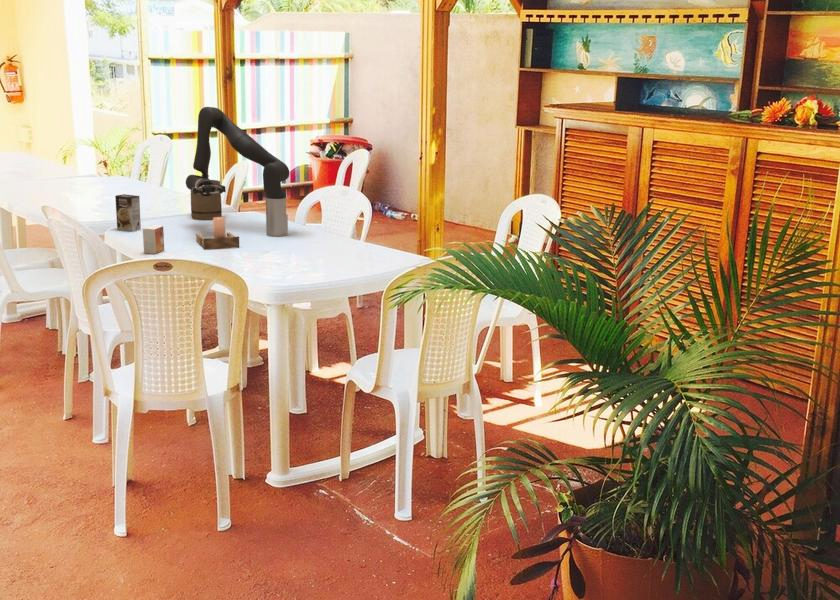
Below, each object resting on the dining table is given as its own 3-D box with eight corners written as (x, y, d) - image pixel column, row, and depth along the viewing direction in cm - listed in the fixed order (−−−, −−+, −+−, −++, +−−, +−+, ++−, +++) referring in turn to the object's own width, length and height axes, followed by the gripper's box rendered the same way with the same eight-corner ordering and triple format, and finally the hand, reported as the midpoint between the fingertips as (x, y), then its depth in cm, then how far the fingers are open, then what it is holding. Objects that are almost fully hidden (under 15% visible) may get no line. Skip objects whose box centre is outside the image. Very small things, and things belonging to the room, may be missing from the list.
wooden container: (210, 214, 484) (209, 170, 478) (227, 218, 474) (226, 174, 468) (185, 217, 474) (183, 173, 468) (202, 221, 464) (200, 176, 458)
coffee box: (116, 230, 438) (114, 195, 434) (125, 227, 444) (123, 193, 440) (132, 232, 435) (130, 197, 431) (141, 229, 441) (139, 195, 437)
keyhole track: (230, 239, 425) (229, 229, 424) (239, 247, 409) (239, 236, 408) (196, 241, 419) (195, 231, 418) (204, 249, 403) (204, 239, 402)
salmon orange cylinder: (224, 243, 413) (223, 216, 410) (226, 245, 408) (226, 218, 405) (212, 244, 411) (211, 217, 408) (215, 246, 406) (214, 219, 403)
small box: (156, 254, 393) (154, 229, 390) (143, 253, 394) (142, 228, 391) (164, 250, 400) (163, 225, 398) (152, 249, 401) (151, 225, 399)
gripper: (188, 179, 427) (195, 184, 413) (219, 178, 433) (227, 182, 418) (189, 196, 429) (196, 201, 415) (220, 194, 434) (228, 198, 420)
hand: (212, 191), depth 416 cm, fingers open, 8 cm apart
